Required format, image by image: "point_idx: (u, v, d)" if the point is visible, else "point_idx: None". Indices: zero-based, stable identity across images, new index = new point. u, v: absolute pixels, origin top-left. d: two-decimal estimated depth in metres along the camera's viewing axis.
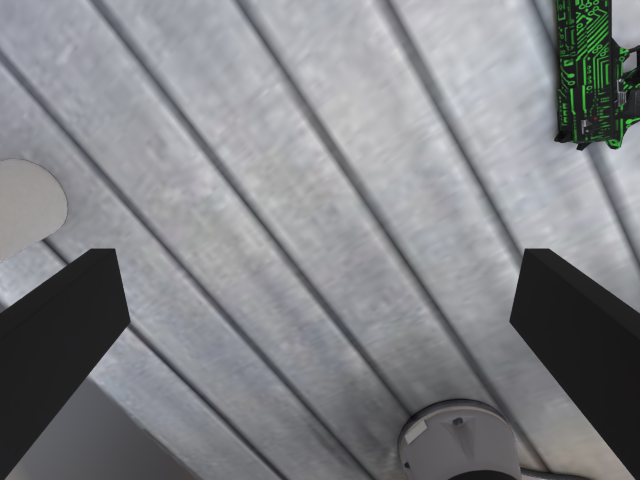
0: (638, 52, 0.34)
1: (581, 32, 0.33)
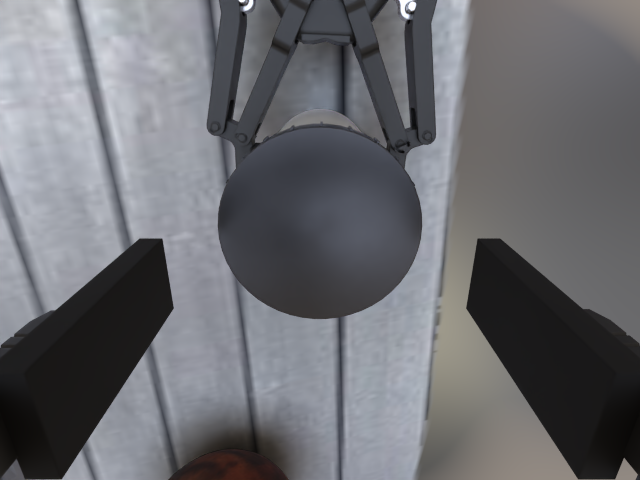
0: None
1: None
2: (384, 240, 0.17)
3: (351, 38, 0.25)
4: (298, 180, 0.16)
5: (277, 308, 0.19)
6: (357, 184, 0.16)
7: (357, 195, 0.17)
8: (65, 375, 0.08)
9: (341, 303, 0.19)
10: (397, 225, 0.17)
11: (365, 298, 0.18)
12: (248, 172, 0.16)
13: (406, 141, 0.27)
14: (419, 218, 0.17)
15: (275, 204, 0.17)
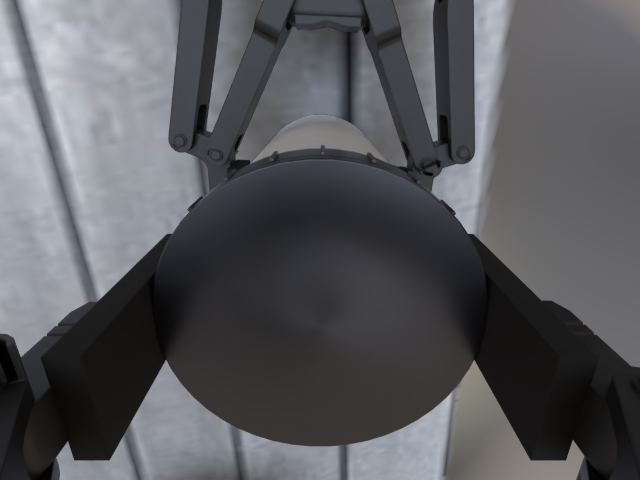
0: None
1: None
2: (424, 337, 0.11)
3: (363, 21, 0.18)
4: (283, 246, 0.10)
5: (253, 432, 0.12)
6: (383, 252, 0.10)
7: (382, 269, 0.10)
8: (112, 361, 0.08)
9: (353, 425, 0.12)
10: (447, 315, 0.10)
11: (391, 419, 0.12)
12: (198, 233, 0.10)
13: (435, 160, 0.20)
14: (484, 304, 0.10)
15: (246, 283, 0.10)
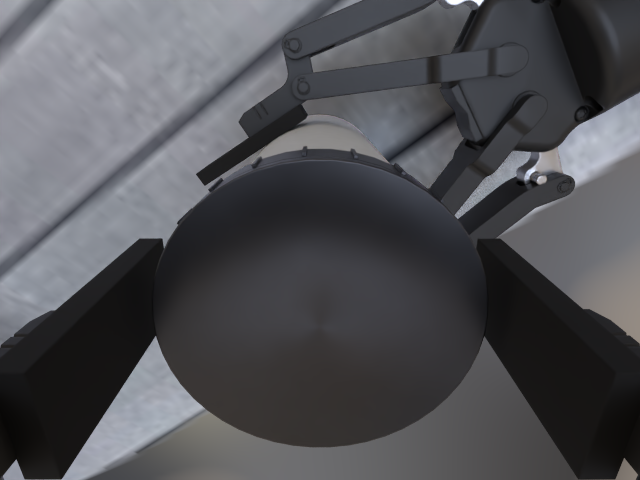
0: None
1: None
2: (401, 256, 0.10)
3: (480, 140, 0.20)
4: (228, 304, 0.10)
5: (380, 435, 0.12)
6: (289, 237, 0.10)
7: (305, 248, 0.10)
8: (65, 376, 0.08)
9: (443, 367, 0.11)
10: (394, 224, 0.09)
11: (465, 336, 0.11)
12: (178, 349, 0.11)
13: None
14: (410, 186, 0.09)
15: (241, 349, 0.11)
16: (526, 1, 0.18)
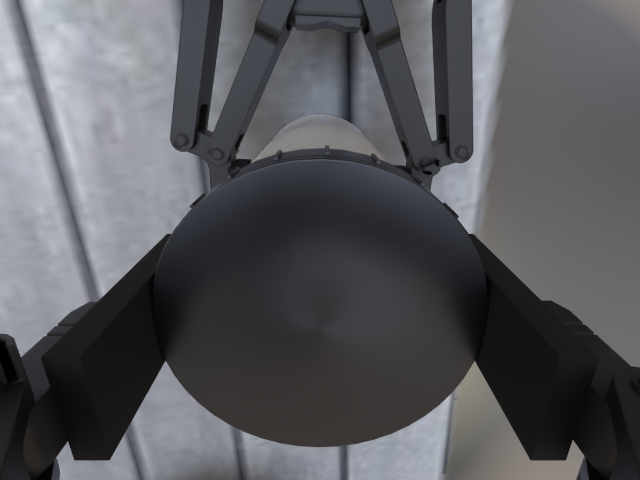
0: None
1: None
2: (297, 226, 0.09)
3: (362, 21, 0.18)
4: (252, 373, 0.11)
5: (476, 348, 0.11)
6: (222, 299, 0.10)
7: (239, 294, 0.10)
8: (112, 361, 0.08)
9: (444, 254, 0.10)
10: (262, 215, 0.09)
11: (424, 217, 0.09)
12: (267, 427, 0.12)
13: (434, 159, 0.20)
14: (235, 183, 0.09)
15: (298, 390, 0.11)
16: None
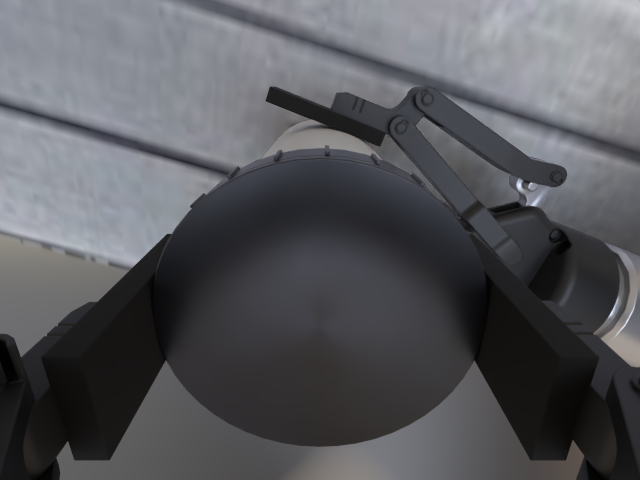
0: None
1: None
2: (298, 226, 0.09)
3: None
4: (252, 372, 0.11)
5: (476, 347, 0.11)
6: (223, 298, 0.10)
7: (239, 293, 0.10)
8: (113, 361, 0.08)
9: (444, 254, 0.10)
10: (262, 215, 0.09)
11: (424, 217, 0.09)
12: (267, 427, 0.12)
13: None
14: (235, 183, 0.09)
15: (298, 390, 0.11)
16: (547, 232, 0.23)
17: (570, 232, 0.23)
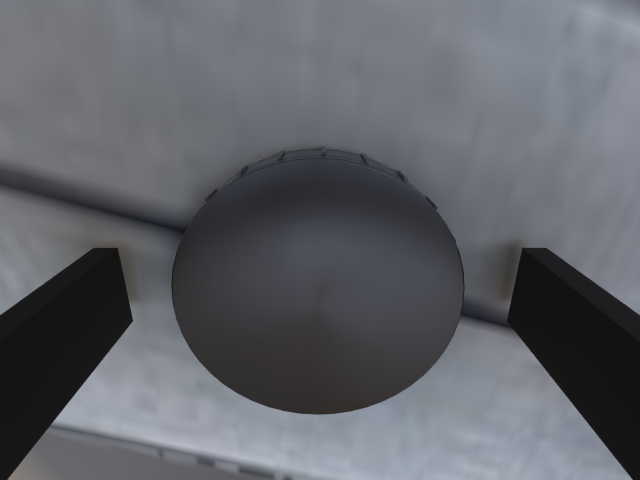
0: None
1: None
2: (298, 216, 0.11)
3: None
4: (258, 346, 0.13)
5: (455, 323, 0.12)
6: (233, 280, 0.12)
7: (247, 276, 0.12)
8: None
9: (425, 241, 0.11)
10: (268, 207, 0.11)
11: (407, 208, 0.11)
12: (271, 396, 0.13)
13: None
14: (244, 179, 0.11)
15: (299, 362, 0.13)
16: None
17: None
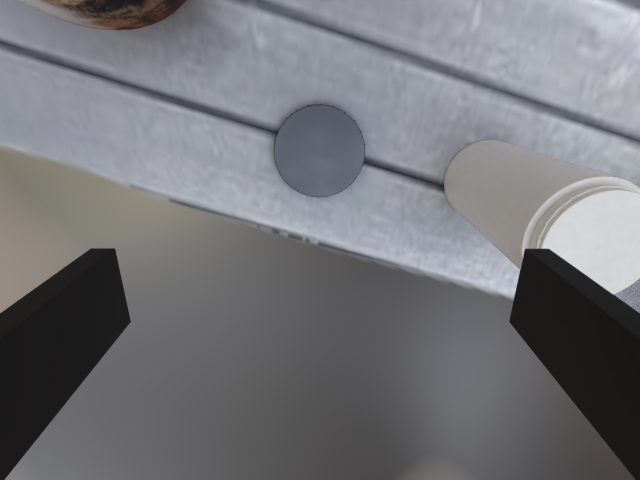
0: None
1: None
2: (313, 123, 0.38)
3: None
4: (300, 169, 0.39)
5: (362, 160, 0.39)
6: (293, 144, 0.38)
7: (298, 143, 0.38)
8: None
9: (351, 131, 0.38)
10: (305, 120, 0.38)
11: (345, 120, 0.38)
12: (303, 189, 0.40)
13: None
14: (298, 111, 0.37)
15: (313, 175, 0.40)
16: None
17: None
